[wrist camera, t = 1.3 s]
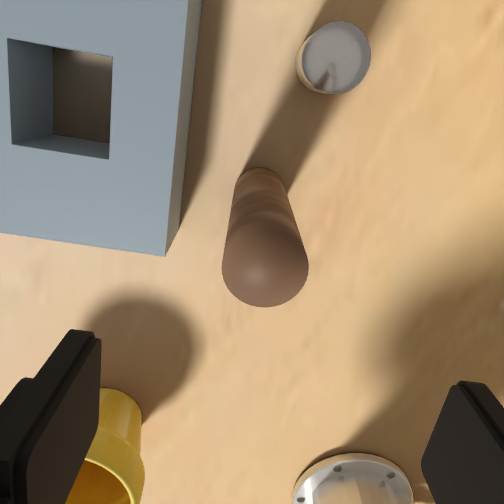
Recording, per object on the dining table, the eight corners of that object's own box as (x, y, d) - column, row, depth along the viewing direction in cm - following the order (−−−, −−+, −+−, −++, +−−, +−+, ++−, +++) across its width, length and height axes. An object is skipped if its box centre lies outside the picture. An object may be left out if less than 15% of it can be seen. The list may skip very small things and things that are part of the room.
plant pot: (96, 350, 39) (49, 430, 30) (183, 412, 42) (163, 504, 32) (33, 415, 42) (-28, 507, 33) (118, 469, 44) (83, 569, 35)
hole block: (204, -26, 28) (193, -54, 23) (178, 229, 35) (164, 256, 29) (-12, -66, 27) (-79, -105, 22) (3, 202, 34) (-46, 226, 28)
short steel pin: (358, 36, 30) (378, 27, 25) (345, 97, 31) (361, 99, 26) (302, 26, 29) (311, 15, 25) (291, 87, 31) (298, 88, 26)
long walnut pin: (289, 171, 33) (316, 234, 19) (279, 220, 34) (299, 312, 20) (238, 163, 33) (228, 221, 19) (230, 213, 34) (216, 301, 20)
